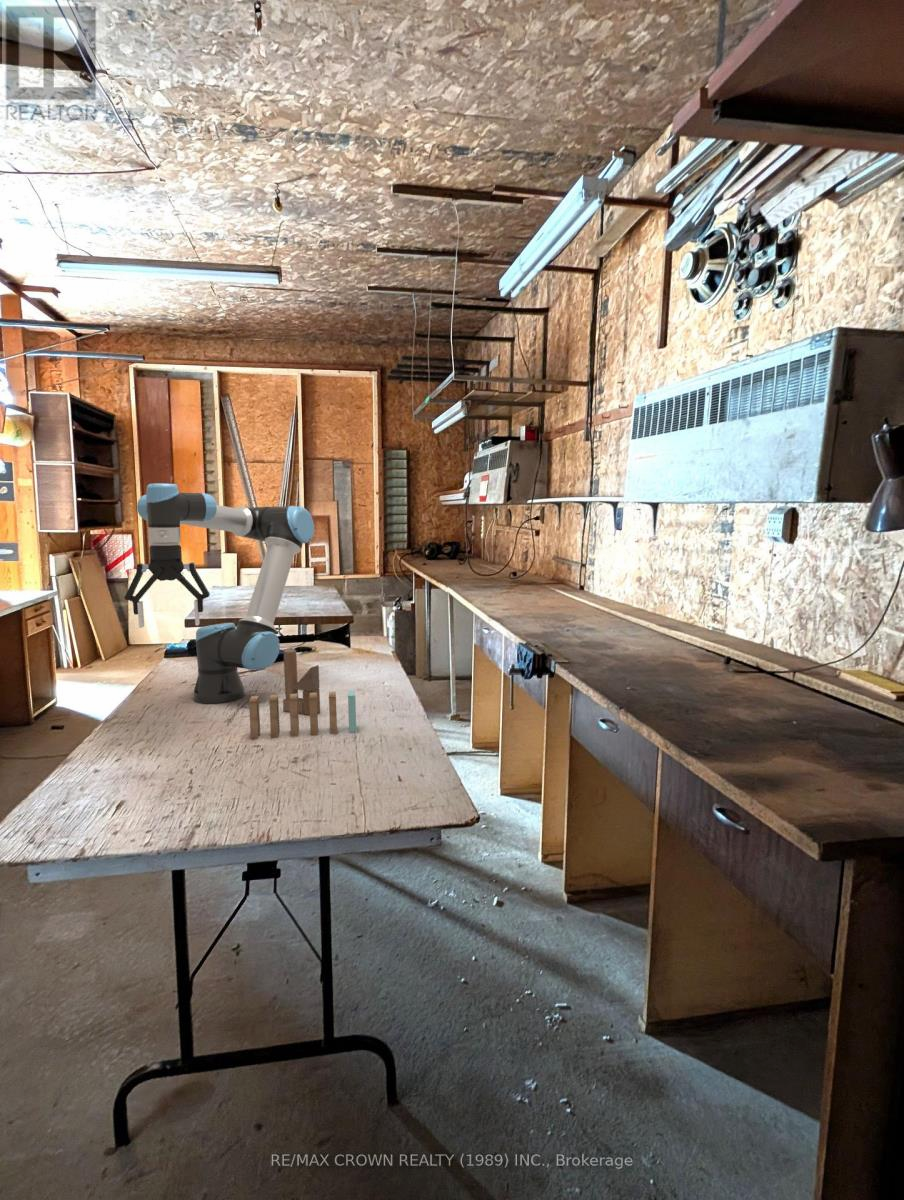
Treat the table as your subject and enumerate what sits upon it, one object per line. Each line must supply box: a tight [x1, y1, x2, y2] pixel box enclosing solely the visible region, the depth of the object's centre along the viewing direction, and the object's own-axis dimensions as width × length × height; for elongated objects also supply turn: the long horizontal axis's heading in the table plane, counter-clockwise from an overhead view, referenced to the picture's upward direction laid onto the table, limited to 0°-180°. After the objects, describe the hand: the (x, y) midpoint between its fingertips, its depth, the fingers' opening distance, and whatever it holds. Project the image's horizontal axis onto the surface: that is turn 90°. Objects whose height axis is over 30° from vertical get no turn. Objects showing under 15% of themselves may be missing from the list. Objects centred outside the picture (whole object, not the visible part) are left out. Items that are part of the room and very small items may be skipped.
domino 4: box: [309, 693, 319, 736], centre depth 172 cm, size 5×2×10 cm, turn 10°
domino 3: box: [289, 693, 300, 738], centre depth 171 cm, size 5×2×10 cm, turn 10°
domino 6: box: [347, 689, 357, 733], centre depth 174 cm, size 5×2×10 cm, turn 10°
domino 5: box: [328, 691, 338, 735], centre depth 173 cm, size 5×2×10 cm, turn 10°
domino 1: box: [248, 695, 261, 740], centre depth 169 cm, size 5×2×10 cm, turn 10°
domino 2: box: [268, 694, 281, 739], centre depth 170 cm, size 5×2×10 cm, turn 10°
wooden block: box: [282, 649, 321, 716], centre depth 189 cm, size 4×11×18 cm, turn 66°
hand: (169, 625), depth 171 cm, fingers open, 13 cm apart
